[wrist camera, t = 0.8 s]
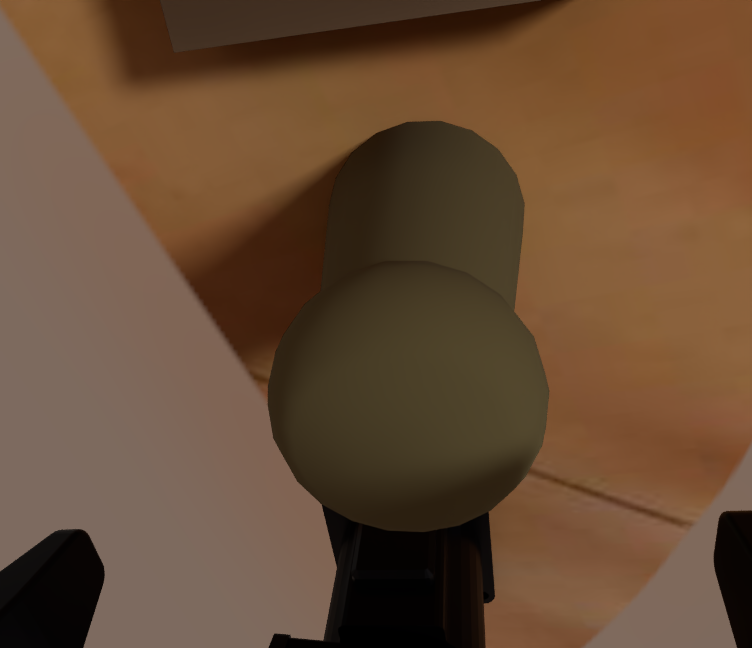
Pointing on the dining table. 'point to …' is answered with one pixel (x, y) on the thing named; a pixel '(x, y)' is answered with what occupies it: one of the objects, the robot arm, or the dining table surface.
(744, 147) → the dining table surface
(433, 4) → the hole block
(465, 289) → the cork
